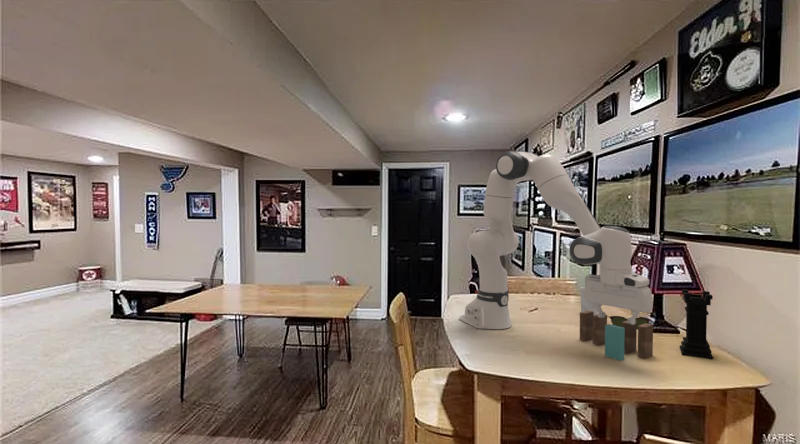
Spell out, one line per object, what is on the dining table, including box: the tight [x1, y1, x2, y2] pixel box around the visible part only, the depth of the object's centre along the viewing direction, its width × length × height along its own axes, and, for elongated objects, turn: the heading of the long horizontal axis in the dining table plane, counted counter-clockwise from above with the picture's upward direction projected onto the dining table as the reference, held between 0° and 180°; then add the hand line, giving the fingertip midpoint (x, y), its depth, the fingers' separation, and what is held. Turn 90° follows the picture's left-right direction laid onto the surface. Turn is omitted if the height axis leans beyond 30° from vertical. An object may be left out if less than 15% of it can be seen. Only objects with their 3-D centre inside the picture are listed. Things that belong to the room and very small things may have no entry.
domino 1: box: [579, 310, 594, 342], centre depth 144 cm, size 2×5×10 cm, turn 123°
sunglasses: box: [607, 315, 651, 330], centre depth 163 cm, size 14×15×5 cm
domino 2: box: [592, 313, 608, 346], centre depth 140 cm, size 2×5×10 cm, turn 123°
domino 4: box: [622, 321, 638, 355], centre depth 132 cm, size 2×5×10 cm, turn 123°
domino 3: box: [604, 323, 625, 361], centre depth 127 cm, size 2×5×10 cm, turn 33°
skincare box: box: [579, 286, 598, 315], centre depth 176 cm, size 6×4×12 cm
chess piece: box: [679, 289, 714, 360], centre depth 129 cm, size 8×8×20 cm
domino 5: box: [637, 323, 654, 360], centre depth 127 cm, size 2×5×10 cm, turn 123°
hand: (616, 320), depth 126 cm, fingers open, 8 cm apart
